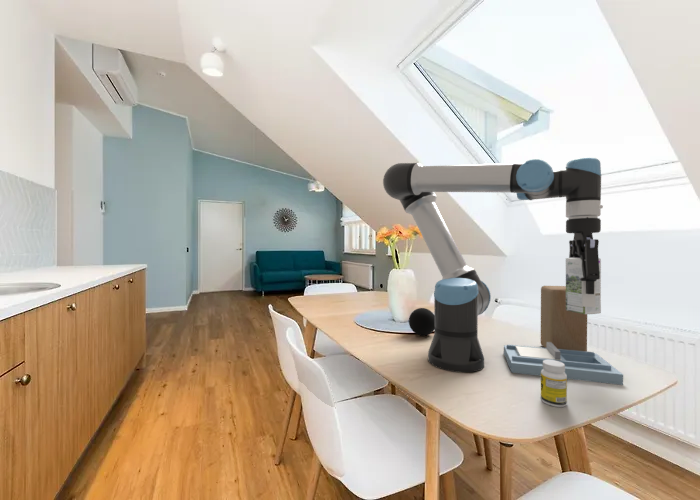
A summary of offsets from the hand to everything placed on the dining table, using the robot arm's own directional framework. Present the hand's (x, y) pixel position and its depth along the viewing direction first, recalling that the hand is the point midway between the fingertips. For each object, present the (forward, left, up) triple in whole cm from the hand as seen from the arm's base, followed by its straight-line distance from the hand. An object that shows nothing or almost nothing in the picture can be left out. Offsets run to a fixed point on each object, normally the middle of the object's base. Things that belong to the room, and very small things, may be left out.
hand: (582, 303), depth 87 cm
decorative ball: (-44, +21, -18) cm, 52 cm away
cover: (-11, 0, -15) cm, 19 cm away
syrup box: (0, 0, -2) cm, 2 cm away
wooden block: (0, +17, -18) cm, 25 cm away
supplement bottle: (-12, -23, -18) cm, 32 cm away
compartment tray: (-6, 0, -18) cm, 19 cm away
